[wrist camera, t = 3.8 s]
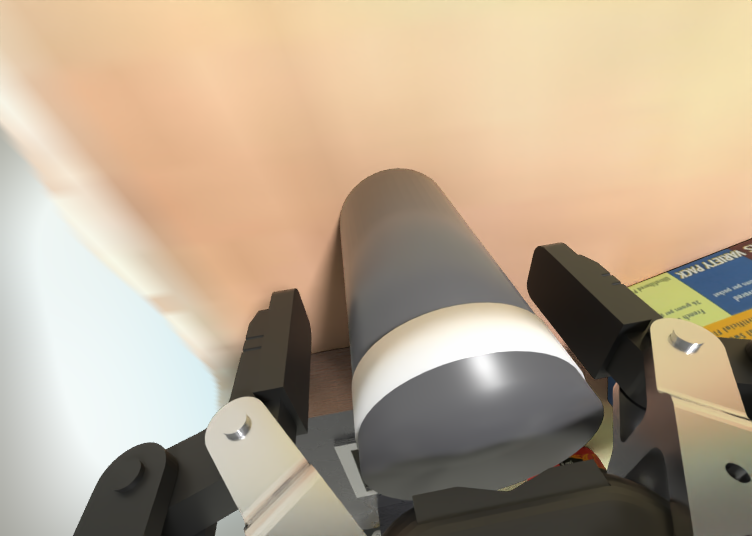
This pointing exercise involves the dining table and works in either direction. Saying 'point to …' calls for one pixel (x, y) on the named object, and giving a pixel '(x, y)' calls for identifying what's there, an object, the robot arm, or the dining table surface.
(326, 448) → the grey panel
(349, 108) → the dining table surface
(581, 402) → the grey rounded cylinder
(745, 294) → the protein box
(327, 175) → the dining table surface
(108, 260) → the dining table surface
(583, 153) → the dining table surface
